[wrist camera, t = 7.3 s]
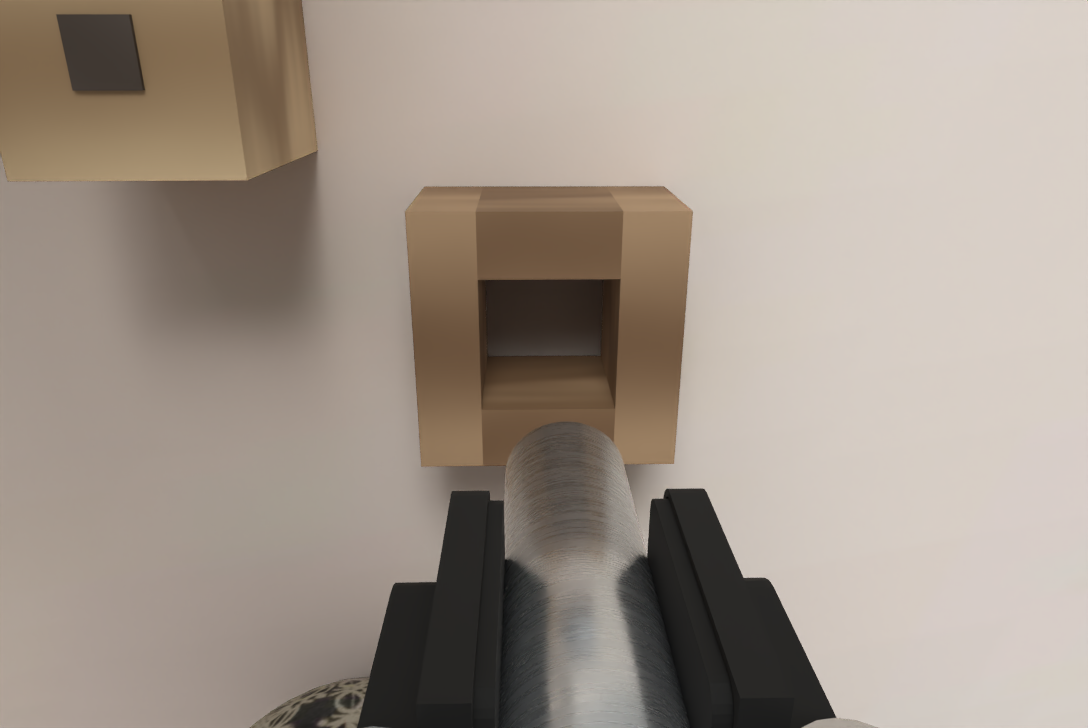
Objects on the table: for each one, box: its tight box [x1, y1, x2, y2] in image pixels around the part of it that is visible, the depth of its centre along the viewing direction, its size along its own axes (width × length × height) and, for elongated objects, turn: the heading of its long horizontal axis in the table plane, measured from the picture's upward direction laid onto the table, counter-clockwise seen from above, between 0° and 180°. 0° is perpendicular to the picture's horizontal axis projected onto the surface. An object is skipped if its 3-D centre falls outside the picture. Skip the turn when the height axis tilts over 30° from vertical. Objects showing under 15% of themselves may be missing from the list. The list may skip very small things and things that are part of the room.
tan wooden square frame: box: [405, 186, 693, 467], centre depth 22 cm, size 7×7×4 cm
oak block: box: [0, 0, 318, 181], centre depth 18 cm, size 5×5×6 cm
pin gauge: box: [499, 422, 690, 728], centre depth 9 cm, size 2×2×10 cm
